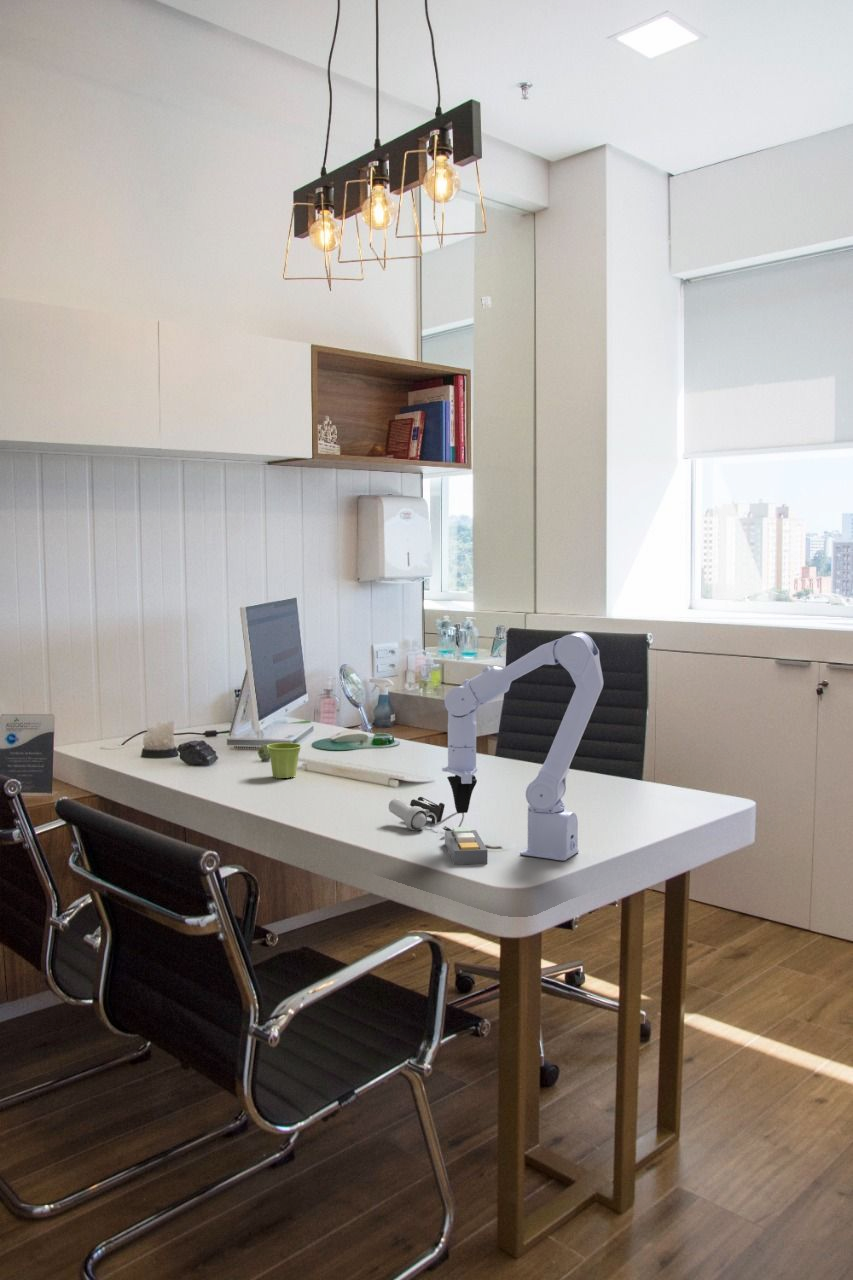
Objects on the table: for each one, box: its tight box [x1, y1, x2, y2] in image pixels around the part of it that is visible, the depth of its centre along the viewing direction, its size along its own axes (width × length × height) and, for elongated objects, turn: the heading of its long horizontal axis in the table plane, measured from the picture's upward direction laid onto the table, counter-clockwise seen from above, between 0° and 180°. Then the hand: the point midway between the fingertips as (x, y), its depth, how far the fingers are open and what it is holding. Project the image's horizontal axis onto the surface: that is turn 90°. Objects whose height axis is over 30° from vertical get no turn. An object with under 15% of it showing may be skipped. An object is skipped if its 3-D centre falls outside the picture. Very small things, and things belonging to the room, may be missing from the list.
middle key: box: [456, 833, 475, 843], centre depth 208 cm, size 3×3×2 cm
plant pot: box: [266, 742, 302, 779], centre depth 285 cm, size 9×9×9 cm
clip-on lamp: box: [388, 796, 465, 831], centre depth 229 cm, size 12×6×18 cm
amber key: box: [459, 842, 479, 850], centre depth 203 cm, size 3×3×2 cm
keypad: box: [444, 829, 488, 865], centre depth 208 cm, size 15×6×3 cm, turn 6°
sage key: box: [452, 826, 472, 837], centre depth 213 cm, size 3×3×2 cm
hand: (461, 812), depth 213 cm, fingers closed
